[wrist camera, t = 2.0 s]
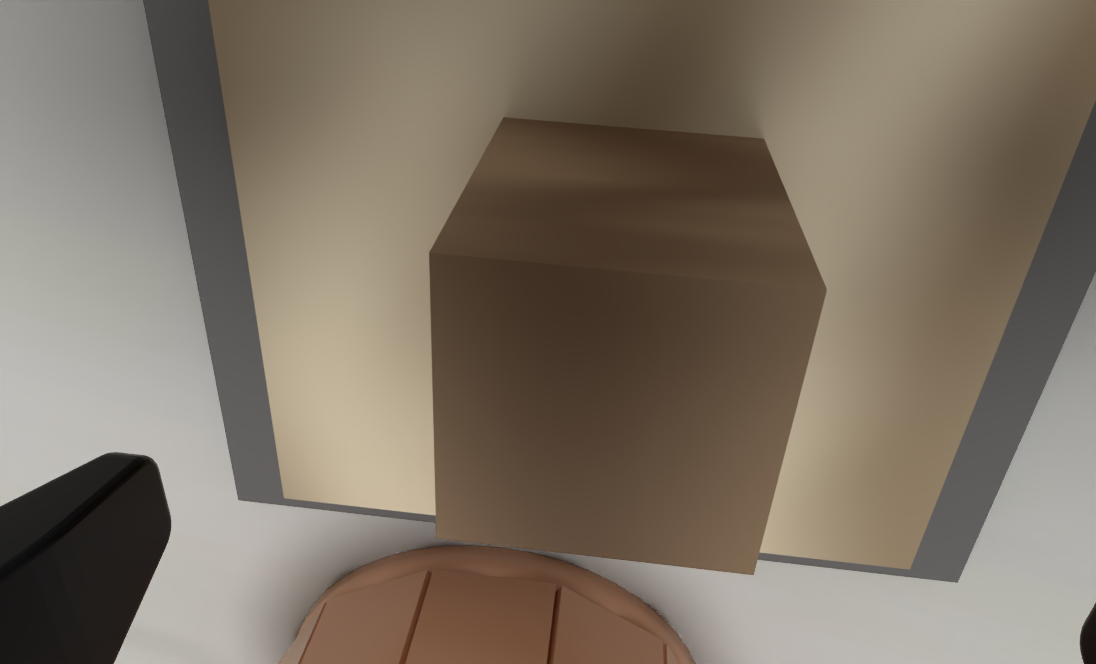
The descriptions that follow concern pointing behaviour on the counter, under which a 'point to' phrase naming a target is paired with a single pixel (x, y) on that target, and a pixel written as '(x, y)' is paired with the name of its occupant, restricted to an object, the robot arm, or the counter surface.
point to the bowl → (481, 614)
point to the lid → (643, 256)
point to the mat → (231, 325)
